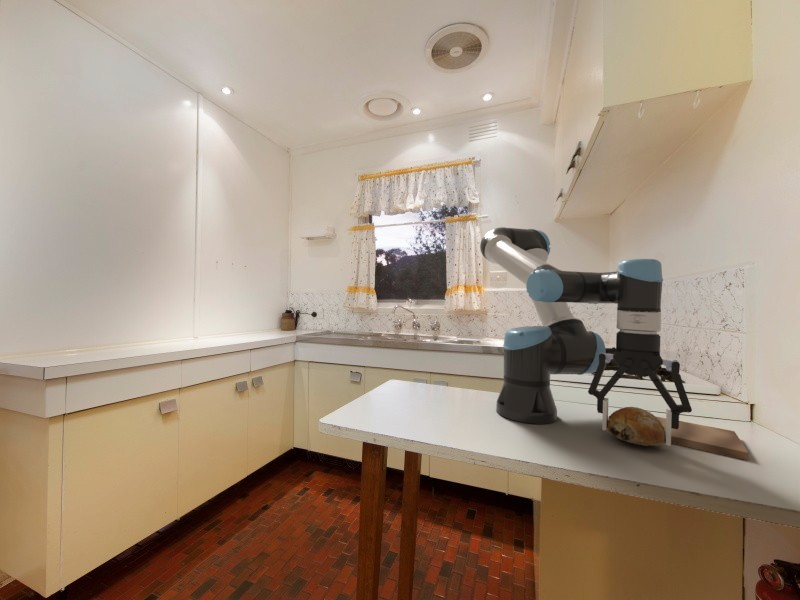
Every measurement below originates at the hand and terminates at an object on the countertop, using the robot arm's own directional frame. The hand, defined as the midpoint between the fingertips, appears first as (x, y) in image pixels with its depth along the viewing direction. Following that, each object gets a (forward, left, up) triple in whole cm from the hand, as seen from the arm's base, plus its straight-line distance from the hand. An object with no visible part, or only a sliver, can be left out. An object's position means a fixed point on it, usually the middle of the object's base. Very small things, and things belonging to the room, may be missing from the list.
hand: (634, 435), depth 67 cm
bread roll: (0, 0, -1) cm, 1 cm away
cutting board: (+8, +13, -2) cm, 15 cm away
